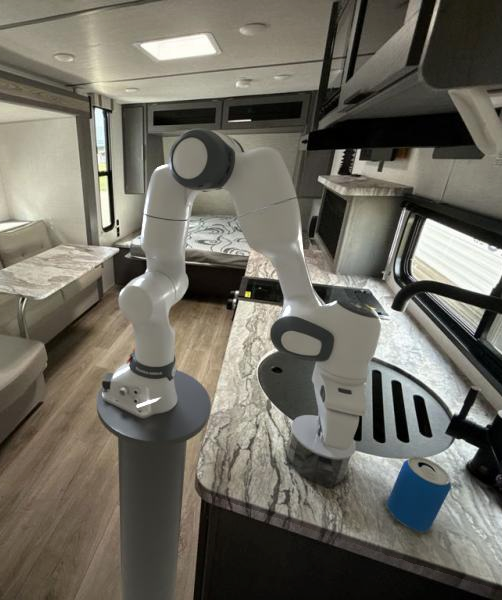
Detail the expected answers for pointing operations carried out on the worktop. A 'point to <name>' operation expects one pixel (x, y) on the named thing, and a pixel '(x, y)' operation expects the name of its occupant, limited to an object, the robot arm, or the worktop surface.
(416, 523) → the beverage can
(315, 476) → the pot
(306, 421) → the pot lid
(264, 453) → the worktop surface
